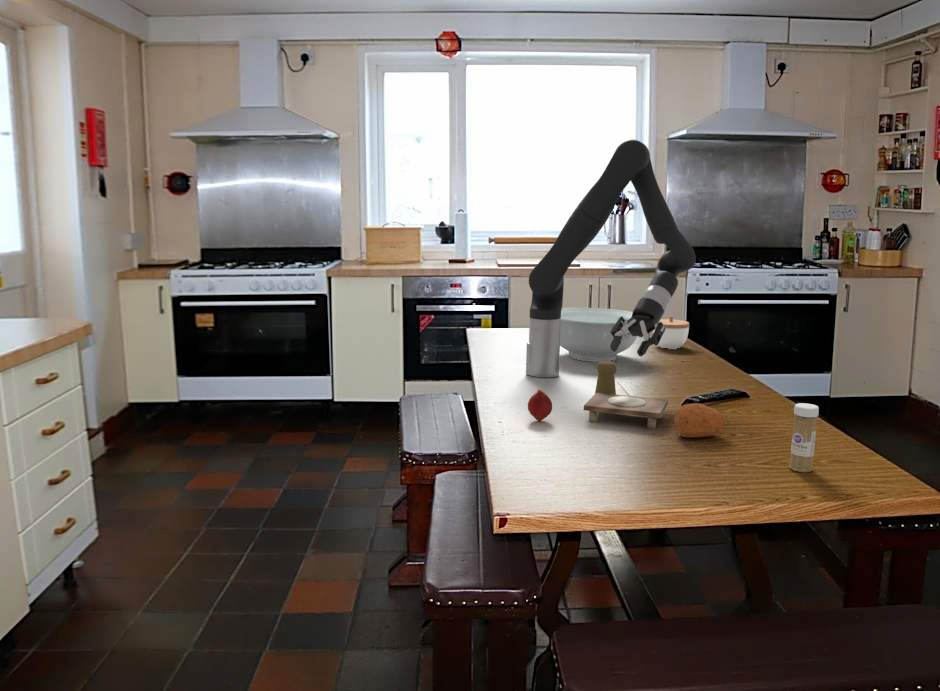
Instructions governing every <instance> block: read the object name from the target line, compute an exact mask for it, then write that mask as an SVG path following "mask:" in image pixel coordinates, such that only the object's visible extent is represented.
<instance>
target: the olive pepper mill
mask: <svg viewBox="0 0 940 691" xmlns="http://www.w3.org/2000/svg"><path fill="white" fill-rule="evenodd" d="M617 371H618V368H617V364H616V363H615V362H614V361H601V362H597V365H596V372H597V374H598V375H597V379H596V380H597V382H596V385H595V392H594V394H595V393H606V394H616V395H617V392H616V390H617V389H616V381H615V379H616V378H615V377H616V376H615V374H616V373H617Z"/></svg>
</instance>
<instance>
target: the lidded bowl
mask: <svg viewBox="0 0 940 691" xmlns="http://www.w3.org/2000/svg"><path fill="white" fill-rule="evenodd" d="M659 322H662V323H663V325H664V327H665V331H664V333H663V336H662V338H661V340H660V342H659V344H658V345H657V346H659V348H660V347H661V348H660V349H663V348H668V349H667V350H678V349H677V348H679V349H681V347H682V346H683V345H684V344H685V343H686V341H687V339H688V336H689V330H690V322H689V321H686V320H682V319H674V316H672V315H671V316H669V318H666V319H665V318H661V319H660V321H659ZM654 331H655V330H653V331H652V334H653V333H654Z"/></svg>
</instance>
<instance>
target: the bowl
mask: <svg viewBox="0 0 940 691" xmlns="http://www.w3.org/2000/svg"><path fill="white" fill-rule="evenodd" d="M632 313H633V311H629V310H624V309H623V310H622V309H621V310H620V309H614V308H613V309H612V308H598V307H562V310H561V326H560V348H563V349H565V351H567V352H568V356H569V358H571V359H574V360H576V359H577V361H581V360H582V361H581V362H589V361H593V363H599V362H601V361H610V362H612V361H611V360H613V361H615V360H616V359H617V355H618V354H619V353H622V352H624V351H626V350H628V349H629V348H631V346H633V344H634V343H635V341H636V339H637V337H638V336H631V337H629V338H625V339H623V340H622V341H621V343H620V345H619V347H618V349H617V350H616V352H613V351H612V350H611V348H610V344H611V342H612V341H613V339H614V337H613V336H612V334H611V333H610V332H611V330H612V328H613V327H614V325H615V324H616V322H617V321H618V319H619V318H620V317H623V318H624V319H627V320H629V319H630V318H631V317H632ZM616 331H617V330H616ZM626 332H627V333H629V330H628V329H627V330H626ZM623 334H624V333H623ZM623 334H622V335H623ZM622 335H620V336H622ZM614 359H615V360H614Z"/></svg>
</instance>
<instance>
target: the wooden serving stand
mask: <svg viewBox="0 0 940 691" xmlns="http://www.w3.org/2000/svg"><path fill="white" fill-rule="evenodd" d="M668 406H669V399H665V398H657V397H656V398H655V397H646V396H645V397H644V396H635V395H624V394H617V393H616V394H606V393H595V392H594V394H593V395H592V396H591V398H589V400H587V401H586V402H585V403H584V405H583V411H587V412H589V413H588V415H589V416H588V422H589V421H590V422H589V423H597V422H598V417H599V416H598V415H599V413H607V414H617V415H626V416H635V417H642V418H643V417H644V418H645V417H646V418H647V426H646V427H648V428H647V429H650V428H652V429H653V430H655V429H657V419H662V418H663V413H664V412H665V410H666V408H667V407H668ZM652 429H651V430H652Z"/></svg>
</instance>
